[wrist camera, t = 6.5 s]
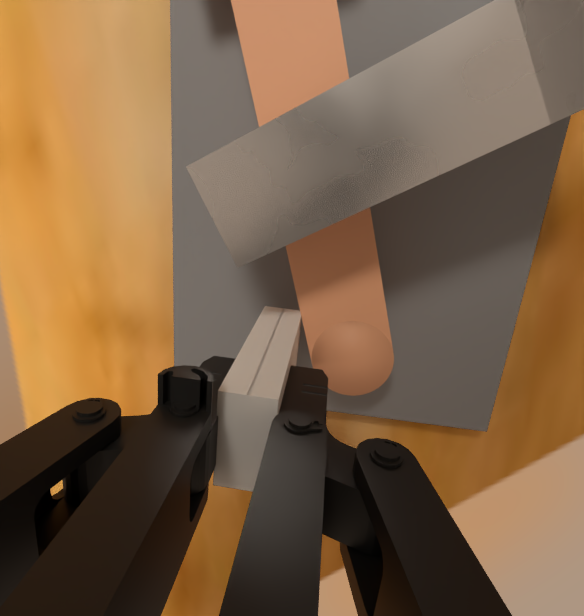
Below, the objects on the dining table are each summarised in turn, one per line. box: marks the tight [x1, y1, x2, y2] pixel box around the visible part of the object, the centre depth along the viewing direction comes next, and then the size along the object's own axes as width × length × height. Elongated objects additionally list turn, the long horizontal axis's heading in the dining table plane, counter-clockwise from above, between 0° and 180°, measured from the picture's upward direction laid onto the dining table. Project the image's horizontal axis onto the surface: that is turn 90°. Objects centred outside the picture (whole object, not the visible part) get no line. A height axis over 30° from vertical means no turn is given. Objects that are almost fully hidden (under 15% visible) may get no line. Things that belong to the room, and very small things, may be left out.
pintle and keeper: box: [186, 0, 584, 268], centre depth 12 cm, size 13×14×5 cm
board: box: [170, 0, 571, 432], centre depth 15 cm, size 26×14×1 cm, turn 175°
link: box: [231, 0, 394, 396], centre depth 14 cm, size 20×5×2 cm, turn 12°
